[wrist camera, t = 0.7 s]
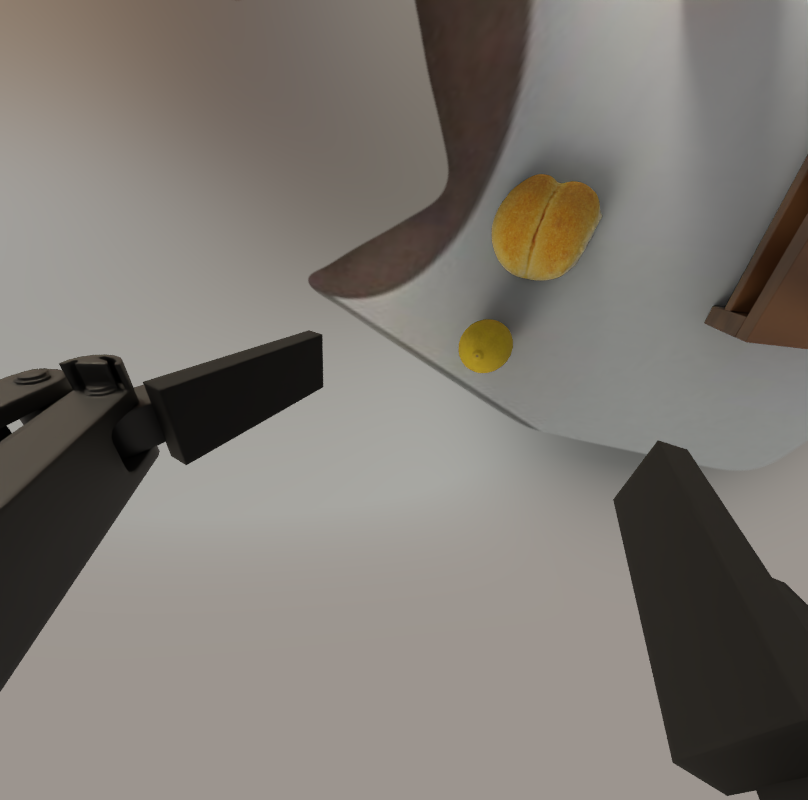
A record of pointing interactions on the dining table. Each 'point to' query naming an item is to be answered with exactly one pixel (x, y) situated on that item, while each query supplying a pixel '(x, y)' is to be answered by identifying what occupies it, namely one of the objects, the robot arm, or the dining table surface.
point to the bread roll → (544, 227)
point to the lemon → (485, 346)
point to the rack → (774, 280)
